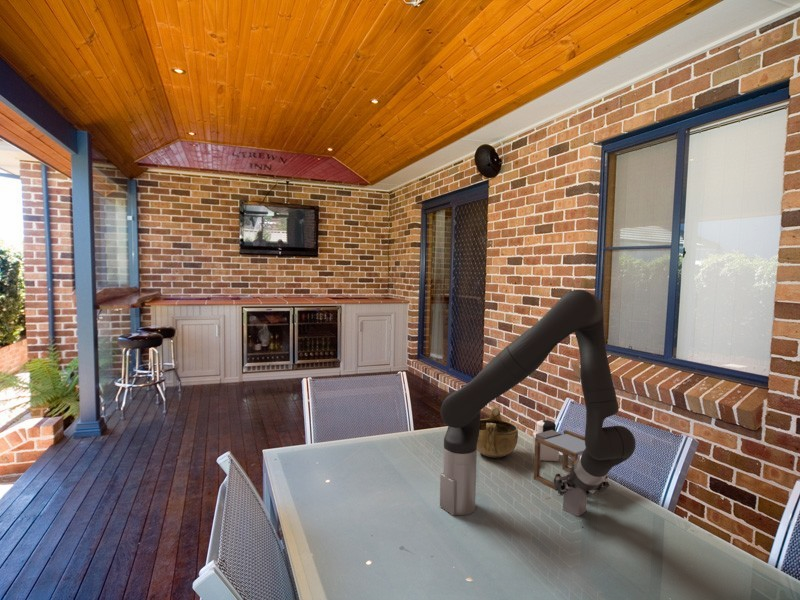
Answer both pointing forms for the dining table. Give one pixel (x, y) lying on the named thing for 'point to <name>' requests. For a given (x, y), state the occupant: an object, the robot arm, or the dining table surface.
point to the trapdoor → (563, 441)
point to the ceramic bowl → (496, 435)
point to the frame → (556, 447)
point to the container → (545, 451)
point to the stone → (575, 501)
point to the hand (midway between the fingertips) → (573, 492)
